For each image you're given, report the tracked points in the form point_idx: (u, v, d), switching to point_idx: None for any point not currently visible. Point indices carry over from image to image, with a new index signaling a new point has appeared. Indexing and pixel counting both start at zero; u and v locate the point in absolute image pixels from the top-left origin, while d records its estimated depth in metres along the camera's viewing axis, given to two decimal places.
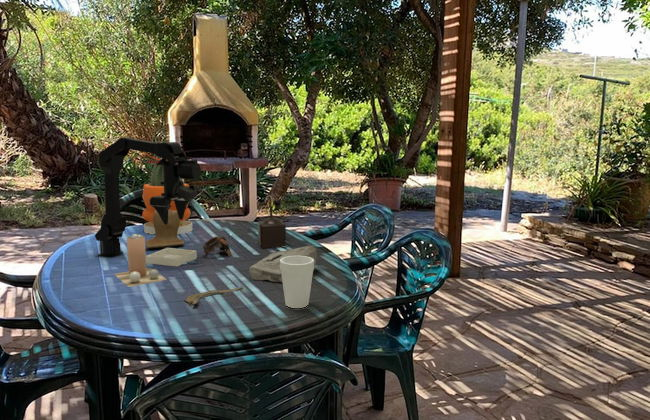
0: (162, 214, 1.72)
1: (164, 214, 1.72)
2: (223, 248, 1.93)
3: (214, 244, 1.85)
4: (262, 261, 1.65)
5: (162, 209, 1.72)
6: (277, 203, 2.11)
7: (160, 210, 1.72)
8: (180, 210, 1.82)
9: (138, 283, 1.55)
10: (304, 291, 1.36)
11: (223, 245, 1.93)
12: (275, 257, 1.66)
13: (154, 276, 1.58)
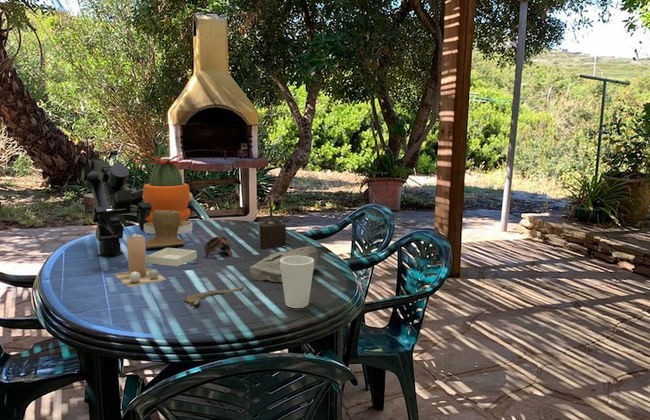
0: (107, 226, 1.65)
1: (107, 224, 1.65)
2: (224, 248, 1.93)
3: (215, 244, 1.85)
4: (262, 261, 1.64)
5: (106, 221, 1.66)
6: (277, 203, 2.11)
7: (105, 223, 1.66)
8: (140, 222, 1.71)
9: (138, 283, 1.55)
10: (304, 291, 1.36)
11: (224, 245, 1.92)
12: (275, 257, 1.66)
13: (154, 276, 1.58)
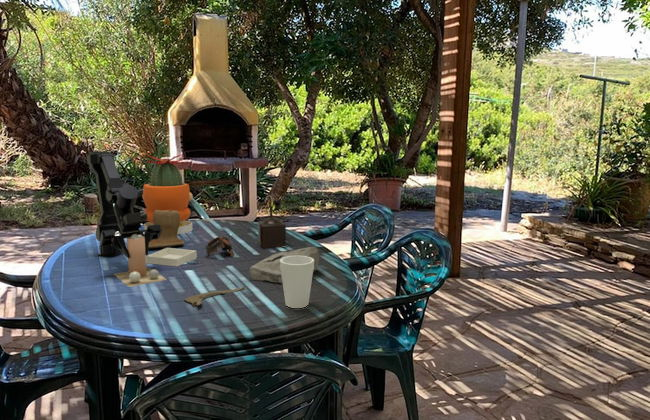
0: (122, 249, 1.60)
1: (122, 247, 1.60)
2: (225, 248, 1.93)
3: (217, 244, 1.84)
4: (263, 261, 1.64)
5: (120, 244, 1.61)
6: (277, 203, 2.11)
7: (120, 246, 1.61)
8: None
9: (138, 283, 1.55)
10: (304, 291, 1.36)
11: (225, 245, 1.92)
12: (276, 257, 1.65)
13: (154, 276, 1.58)
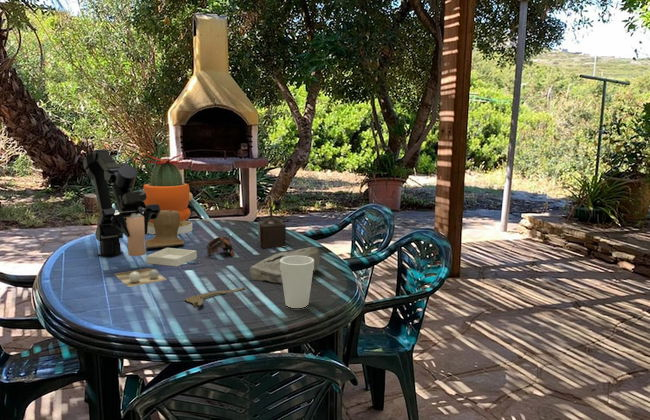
0: (121, 228, 1.62)
1: (121, 226, 1.61)
2: (226, 248, 1.93)
3: (218, 244, 1.84)
4: (263, 261, 1.64)
5: (120, 223, 1.62)
6: (277, 203, 2.11)
7: (119, 225, 1.62)
8: None
9: (138, 283, 1.55)
10: (304, 291, 1.36)
11: (226, 245, 1.92)
12: (276, 258, 1.65)
13: (154, 276, 1.58)
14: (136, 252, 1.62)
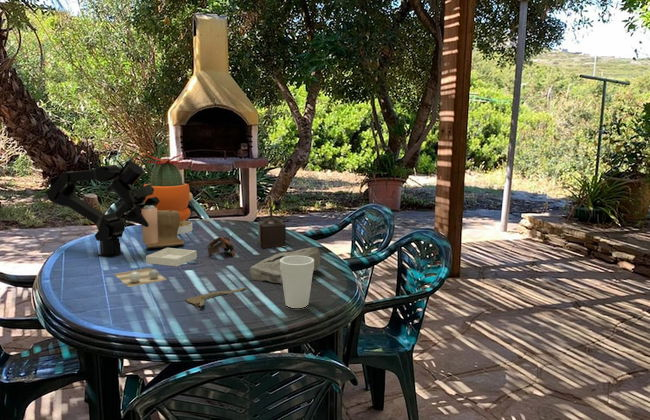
0: (138, 219, 1.77)
1: (139, 218, 1.77)
2: (227, 249, 1.92)
3: (218, 245, 1.84)
4: (263, 261, 1.64)
5: (135, 216, 1.78)
6: (277, 203, 2.11)
7: (134, 218, 1.78)
8: None
9: (138, 283, 1.55)
10: (304, 291, 1.36)
11: (227, 246, 1.92)
12: (276, 258, 1.65)
13: (154, 276, 1.58)
14: (154, 239, 1.80)
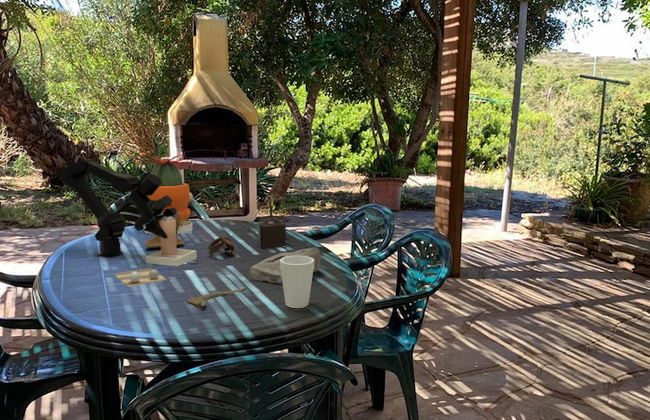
0: (157, 231, 1.76)
1: (158, 229, 1.76)
2: (228, 249, 1.92)
3: (219, 245, 1.84)
4: (263, 262, 1.64)
5: (154, 227, 1.76)
6: (277, 203, 2.11)
7: (153, 229, 1.76)
8: None
9: (138, 283, 1.55)
10: (304, 291, 1.36)
11: (228, 246, 1.92)
12: (277, 258, 1.65)
13: (154, 276, 1.58)
14: (173, 251, 1.79)
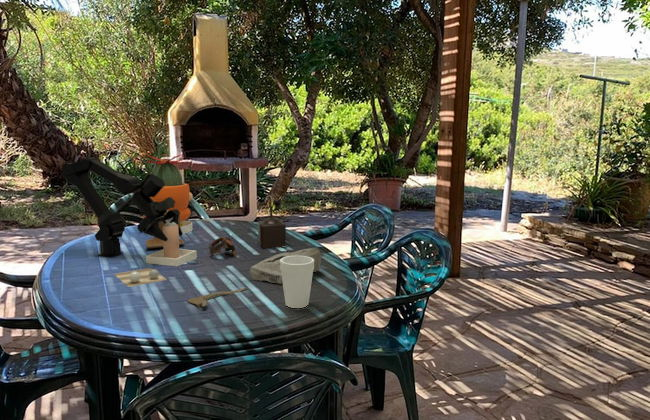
0: (157, 234, 1.74)
1: (158, 232, 1.74)
2: (228, 249, 1.92)
3: (220, 245, 1.84)
4: (263, 262, 1.64)
5: (154, 230, 1.74)
6: (277, 203, 2.11)
7: (153, 232, 1.74)
8: None
9: (138, 283, 1.55)
10: (304, 291, 1.36)
11: (228, 246, 1.92)
12: (277, 258, 1.65)
13: (154, 276, 1.58)
14: (176, 256, 1.79)
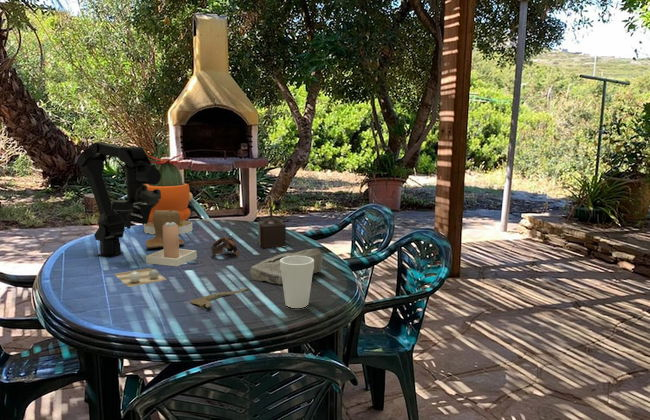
0: (125, 218, 1.72)
1: (126, 218, 1.72)
2: (230, 249, 1.92)
3: (223, 245, 1.83)
4: (264, 262, 1.64)
5: (124, 213, 1.72)
6: (277, 203, 2.11)
7: (123, 214, 1.72)
8: (145, 214, 1.82)
9: (138, 283, 1.55)
10: (304, 291, 1.36)
11: (231, 246, 1.91)
12: (277, 258, 1.64)
13: (154, 276, 1.58)
14: (176, 256, 1.79)
